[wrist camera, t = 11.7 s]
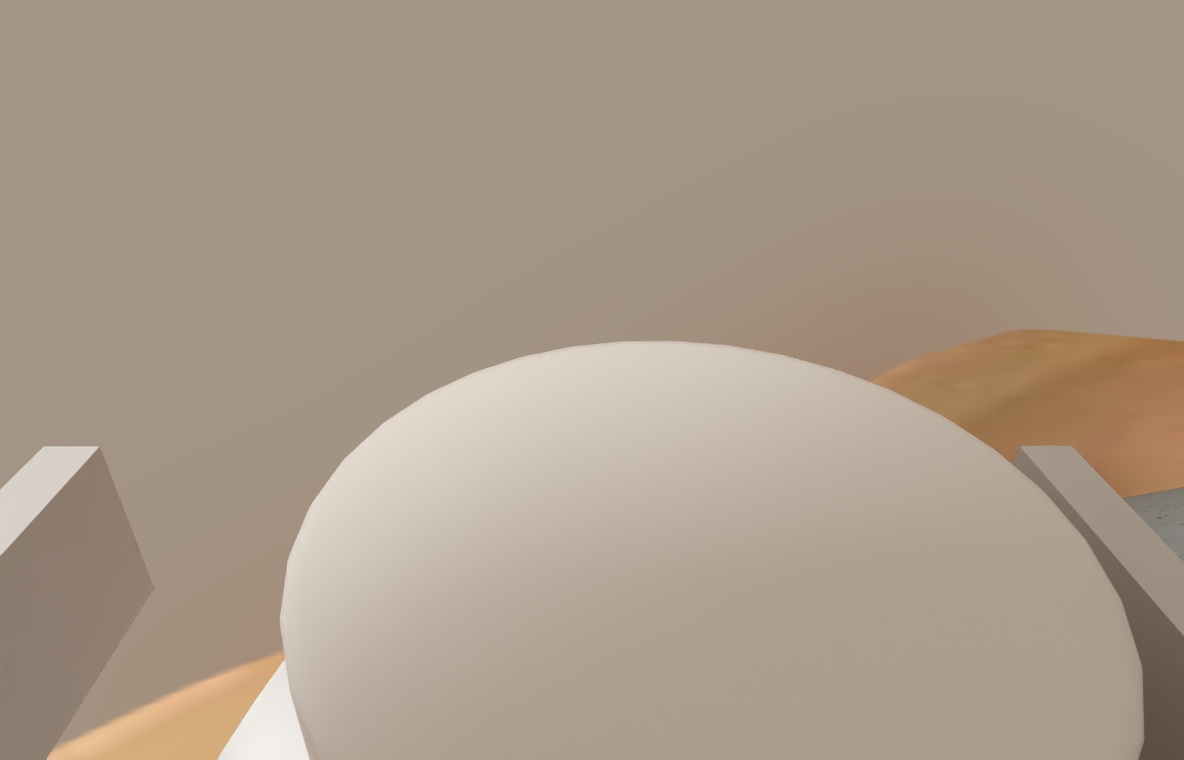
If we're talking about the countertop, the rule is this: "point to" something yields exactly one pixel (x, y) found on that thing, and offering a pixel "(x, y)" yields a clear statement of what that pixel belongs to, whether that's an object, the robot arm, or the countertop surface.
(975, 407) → the countertop surface
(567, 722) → the spread jar
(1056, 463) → the robot arm
